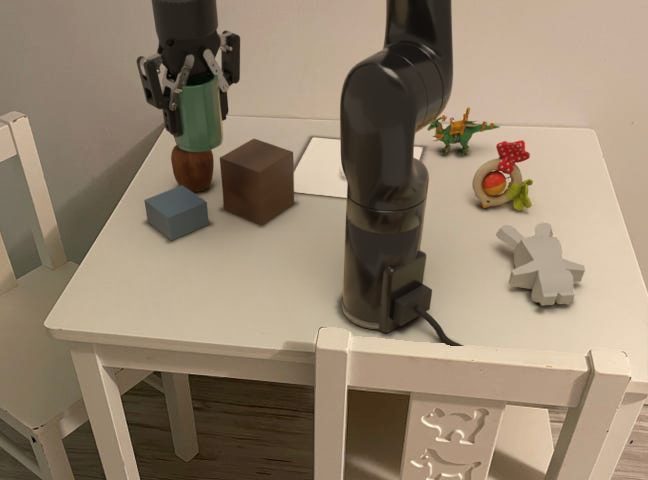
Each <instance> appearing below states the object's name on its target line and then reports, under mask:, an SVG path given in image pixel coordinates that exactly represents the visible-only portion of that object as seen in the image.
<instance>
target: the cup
mask: <svg viewBox="0 0 648 480" xmlns="http://www.w3.org/2000/svg"><path fill="white" fill-rule="evenodd" d="M176 80H177V78H176V77H174V81H175V82H176ZM169 90H170V93H171V88H169ZM179 97H180V99H179V103H178V106H177V108H179V111H180V119H181V127H182V136H180V137H175V139H176V142H175V144H176V145H177V146H178V147H179V148H180V149H182V150H185V151H189V152H203V151H208V150H215V149H216V148H218V147H220V146H221V145H222V144H223V143H224V127H223V125H224V123H223V121H222V113H221V102H220V91H219V80H218V75H216V76H214V78H213V79H212V78H210V77H207V76H203V77H196V78H194V79H193V80H191V81H188V82H187V83H186V86H184V87H182V91H181V92H179ZM175 139H174V140H175ZM176 145H175V146H176Z"/></svg>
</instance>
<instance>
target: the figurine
mask: <svg viewBox="0 0 648 480" xmlns="http://www.w3.org/2000/svg"><path fill="white" fill-rule="evenodd" d="M470 111H471V108H470V107H469V106H468V107H466V110H465V113H463V115H462V117H463V118H462V120H461V119H460V120H455V118H454V117H450V118H449V122H450V123H449V125H448V126H446V128H443V123H442V122H446V120H447V118H448V116H447V115H445V114H442V115H441V116H439V117H437V118H436V119H435V120H434V121H433V122H431V123H430V124H429V125H428V126H427V129H426V130H427V132H428V131H429V132H430V131H431V130H434V129H435V133H434V135H432V137H433V138H435V139H432V141H433V142H438V141H440V142H443V144H444V145H445V146H444V148H441V149H440V152H441V155H442V156H443V157H444V156H446V155H447V153H449V151H450V150H451V147H452V146H451V145H456V144H460V146H461V147H462V148H457V151H458V155H459V157H463V156H466V155H467V154H468V153H467V151H468V150H469V148H470V145H468V144H469V142H470V140H471V139H472V137H473V135H474V134H476V133H483V132H485V131H491V130H495V129H498V128H500V127H501V125H495V122H491V123H490V125H489V124H488V122H487V121H486V120H484V121H482V124H481V123H476V122H477V121H478V119H475V120H469V115H470ZM440 120H441V122H440Z"/></svg>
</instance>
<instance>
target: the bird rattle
mask: <svg viewBox="0 0 648 480" xmlns="http://www.w3.org/2000/svg"><path fill="white" fill-rule="evenodd" d="M496 151H497V155H498V158H493V159H489V160H488V161H486V162H484V163H483V164H481V166H479V168H478V169H477V170H476V171H475V173H474V175H473V178H472V190H473V192H474V196H475V197H476V199H477V200H478V201H480V204H481V207H482V208H483V209H487V208H489V207H491V206H493V207H494V206H495V207H496V206H500V205H505V204H506V203H508V202H510V201H512V200H513V209H514V210H515V211H518V212H520V211H522V210H523V209H524V208H526V209H529V208H532V206H533V205H532V201H531V199H530V197H529V196H528V195H529V187H530V186H532V185H534V181H533V179H530V178H528V179H525V180H523V175H522V172H521V170H520V168H519V166H518V165H517V163H522V162H525V161H527V160H529V159H530V157H531V153H530V152H528V151H527V150H526V142H525V141H524V140H523V139H521V140H516V141H513V142H512V141H511V142H510V141H506V140H504V141H501V142H498V143H496ZM504 174H506V175H508V176H507V177H506V176H505V175H504ZM507 179H510V181H509V182H508V185H507ZM506 187H507V188H506Z"/></svg>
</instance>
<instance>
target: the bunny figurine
mask: <svg viewBox="0 0 648 480" xmlns="http://www.w3.org/2000/svg"><path fill="white" fill-rule="evenodd" d="M553 235H554V233H553V228H552V224H550V223H548V222H544V221H543V222H539V223H537V224H536V225H535V226H534V235H532V236H529V237H526V238H525V237H524V236H523V235H522V234H521V233H520V232H519V231H518V230H517V229H516V228H515V227H514V226H512V225H509V224H504V225H501V226H500V228H499V229H498V230H497V232H496V233H495V236H496V238H497V239H498V240H500V241H502V242H503V243H504V244H505V245H507V246H509V247H511V248H512V249H513V264H514V269H512V270H510V271H511V272H510V275H509V279H508V285H509V286H510V287H515V288H522V289H528V290H531V294H530V297H531V300H532V301H533V302H534V303H539V304H540V306H553V305H555V303H556V304H558V305H568V304H569V305H570V304H572V302H573V300H574V297H575V296H576V294H575V292H574V284H576V283H578V282H582V280H583V277H584V274H585V272H586V268H585V265H584V264H581V263H577V262H574V261H572V260H571V261H570V260H568V259H565V258H563V248H562V244H561V242H560V240H559V239H558V237H556V236H553Z"/></svg>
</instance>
